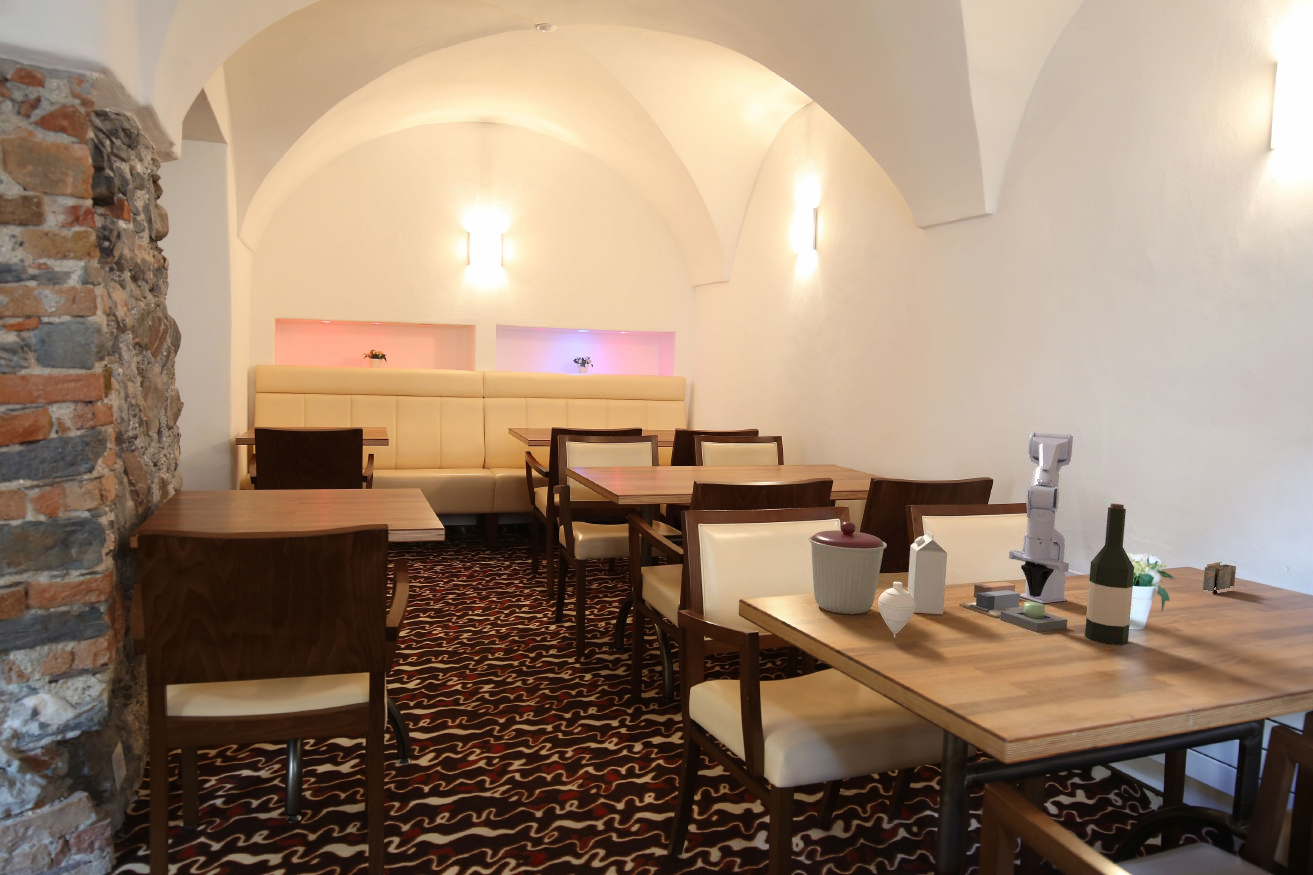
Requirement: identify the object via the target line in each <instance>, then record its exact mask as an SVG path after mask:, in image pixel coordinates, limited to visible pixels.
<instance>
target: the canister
mask: <svg viewBox="0 0 1313 875" xmlns="http://www.w3.org/2000/svg"><path fill="white" fill-rule="evenodd" d="M856 528H857V527H856V525H855V523H854V522H852V521H844V522H842V523H841V524H840V530H823V531H822V530H821V531H819V532H816V533H814V535H811V536H809V537H808V541H809V543H811V544H810V545H811V564H812V565H811V566H812V582H813V593H814V598H815V601H816V603H817V605H818V606H819V608H821V609H822V610H826V611H828V612H831V613H836V614H844V615H859V614H860V615H861V614H865V613H867V612H869V610H871V609H872V607H873V604H874V602H875V598H876V597H875V596H876V592H877V588H878V587H877V586H878V582H879V577H880V572H881V571H880V570H881V566H882V560H883V554H884V549H886V548H887V546H888V545H887V543H886V542H885V541H882V540H881V538H879V537H877V536H875V535H872V534H869V533H865V532H861V531H856Z"/></svg>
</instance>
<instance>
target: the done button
mask: <svg viewBox="0 0 1313 875" xmlns="http://www.w3.org/2000/svg"><path fill="white" fill-rule="evenodd" d="M1023 607H1024V613H1023V616H1026V617H1029V618H1032V619H1035V620H1036V619H1044V613H1046V612H1045V611H1046V605H1045V603H1040V602H1036V601H1025V602H1024V603H1023Z"/></svg>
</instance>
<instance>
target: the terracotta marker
mask: <svg viewBox="0 0 1313 875" xmlns="http://www.w3.org/2000/svg"><path fill="white" fill-rule="evenodd" d="M1004 590H1010V591H1014V592H1016V584H1014V583H1011V582H1007V581H1001V582H1000V581H999V582H987V583H976V584H974V588H973V598H974V597H975V599H976V596H977V593H984V592H994V591H1004Z"/></svg>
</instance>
